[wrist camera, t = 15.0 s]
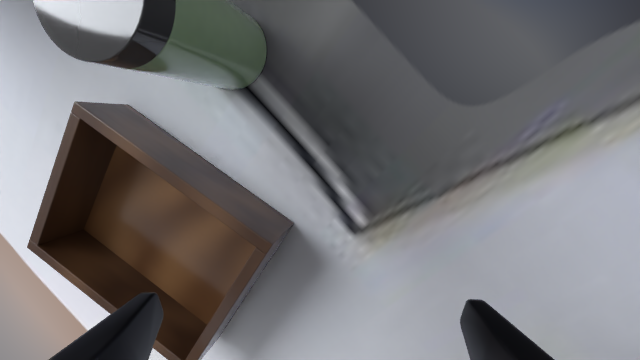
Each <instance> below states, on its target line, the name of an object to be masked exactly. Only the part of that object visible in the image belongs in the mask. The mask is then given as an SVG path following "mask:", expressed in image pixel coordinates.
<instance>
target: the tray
mask: <svg viewBox="0 0 640 360" xmlns="http://www.w3.org/2000/svg"><path fill="white" fill-rule="evenodd" d="M71 112H72V113H71V114H70V117H69V120H68V123H67V126H66V129H65V132H64V135H63V139H62V142H61V145H60V148H59V151H58V154H57V157H56V160H55V163H54V166H53V169H52V172H51V176H50V179H49V182H48V185H47V188H46V191H45V194H44V197H43V200H42V203H41V206H40V209H39V212H38V216H37V219H36V222H35V225H34V228H33V231H32V234H31V237H30V240H29V243H28V246H27V248H28V249H30V250H31V251H32V252H33V253H35V254H36V255H37V256H39V257H40V258H41V259H42V260H44V261H45V262H46V263H47V264H49V265H50V266H51V267H52V268H54V269H55V270H56V271H57V272H59V273H60V274H61V275H62V276H64V277H65V278H66V279H67V280H69V281H70V282H71V283H72V284H74V285H75V286H76V287H77V288H79V289H80V290H81V291H82V292H84V293H85V294H86V295H87V296H89V297H90V298H91V299H92V300H94V301H95V302H96V303H97V304H99V305H100V306H101V307H102V308H104V309H105V310H106V311H107V312H109V313H110V314H112V313H113V312H115V311H116V310H118V309H119V308H120V307H122V306H123V305H124V304H126V303H127V302H128V301H130V300H131V299H133V298H134V297H135V296H137V295H138V294H140V293H142V292H155V293H157V294H158V296H159V299H160V302H161V305H162V308H163V313H164V315H163V320H162V323H161V326H160V328H159V331H158V334H157V337H156V340H155V342H154V345H153V348H154V349H155V350H156V351H158V352H159V353H160V354H161V355H163V356H164V357H165V358H166V359H168V360H201V359H202V358H203V357H204V355H205V354H206V353H207V352H208V350H209V349H210V348H211V347H212V345H213V344H214V343H215V341H216V340H217V339H218V338H219V336H220V335H221V333H222V332H223V330H224V329H225V327H226V326H227V324H228V323H229V321H230V320H231V318H232V317H233V315H234V314H235V312H236V310H237V309H238V307H239V306H240V304H241V303H242V301H243V300H244V298H245V297H246V295H247V294H248V292H249V291H250V289H251V288H252V286H253V285H254V283H255V281H256V280H257V278H258V277H259V275H260V274H261V272H262V271H263V269H264V268H265V266H266V265H267V263H268V262H269V260H270V259H271V257H272V256H273V254H274V252H275V251H276V249H277V248H278V246H279V245H280V243H281V242H282V240H283V239H284V237H285V236H286V234H287V233H288V231H289V230H290V228H291V227H292V225H293V222H292V221H290V220H289V219H287V218H286V217H285V216H283V215H282V214H280V213H279V212H278V211H276V210H275V209H273V208H272V207H271V206H269V205H268V204H266V203H265V202H264V201H262V200H261V199H259V198H258V197H257V196H255V195H254V194H252V193H251V192H250V191H248V190H247V189H245V188H244V187H243V186H241V185H240V184H238V183H237V182H236V181H234V180H233V179H231V178H230V177H229V176H227V175H226V174H224V173H223V172H221V171H220V170H219V169H217V168H216V167H214V166H213V165H212V164H210V163H209V162H207V161H206V160H205V159H203V158H202V157H200V156H199V155H198V154H196V153H195V152H193V151H192V150H191V149H189V148H188V147H186V146H185V145H184V144H182V143H181V142H179V141H178V140H177V139H175V138H174V137H172V136H171V135H170V134H168V133H167V132H165V131H164V130H163V129H161V128H160V127H158V126H157V125H156V124H154V123H153V122H151V121H150V120H148V119H147V118H146V117H144V116H143V115H141V114H140V113H139V112H137V111H136V110H134V109H133V108H132V107H130V106H129V105H124V104H107V103H90V102H74V105H73V108H72V111H71Z"/></svg>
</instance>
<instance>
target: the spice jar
mask: <svg viewBox="0 0 640 360" xmlns="http://www.w3.org/2000/svg"><path fill="white" fill-rule="evenodd" d="M33 4H34V8H35V10H36V13H37V16H38V18H39V20H40V22H41V24H42V26H43V28H44V30H45V31H46V33H47V34H48V36H49V37H50V38H51V40H52V41H53V42H54V43H55V44H56V45H57V46H58V47H59V48H60V49H61V50H63V51H64V52H65V53H67V54H68V55H70V56H72V57H74V58H76V59H78V60H81V61H85V62H90V63H95V64H100V65H105V66H110V67H116V68H121V69H126V70H131V71H136V72H141V73H146V74H152V75H157V76H162V77H167V78H172V79H177V80H182V81H188V82H193V83H198V84H203V85H208V86H213V87H218V88H224V89H229V90H237V89H242V88H245V87H247V86H248V85H250V84H251V83H253V82H254V81H255V80H256V79H257V77H258V76H259V75H260V73H261V72H262V69H263V67H264V64H265V60H266V53H267V48H266V40H265V37H264V34H263V31H262V29H261V28H260V26H259V25H258V23H257V22H256V21H255V20H254V19H253V18H252V17H251V16H249V15H248V14H247V13H245V12H244V11H243V10H241V9H240V8H239V7H237V6H236V5H235V4H233V3H232V2H231V1H229V0H33Z"/></svg>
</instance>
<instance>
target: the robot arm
mask: <svg viewBox="0 0 640 360" xmlns="http://www.w3.org/2000/svg"><path fill="white" fill-rule="evenodd" d="M163 315H164V313H163V308H162V305H161V302H160V299H159V296H158V294H157V293H155V292H142V293H140V294H138V295H137V296H135V297H134V298H133V299H131V300H130V301H128V302H127V303H126V304H124V305H123V306H122V307H120V308H119V309H118V310H116V311H115V312H113V313H112V314H111V315H109V316H108V317H107V318H105V319H104V320H102V321H101V322H100V323H98V324H97V325H96V326H94V327H93V328H91V329H90V330H89V331H87V332H86V333H85V334H83V335H82V336H80V337H79V338H78V339H76V340H75V341H74V342H72V343H71V344H70V345H68V346H67V347H65V348H64V349H63V350H61V351H60V352H59V353H57V354H56V355H54V356H53V357H52V358H50V359H49V360H148V359H149V356H150V353H151V351H152V348H153V345H154V342H155V340H156V337H157V334H158V331H159V328H160V326H161V323H162V320H163ZM460 324H461V329H462V332H463V336H464V339H465V343H466V346H467V349H468V353H469V356H470V360H554V359H553V358H552V357H551V356H549V355H548V354H547V353H546V352H545V351H543V350H542V349H541V348H540V347H539V346H537V345H536V344H535V343H534V342H533V341H531V340H530V339H529V338H528V337H527V336H525V335H524V334H523V333H522V332H521V331H520V330H518V329H517V328H516V327H515V326H514V325H512V324H511V323H510V322H509V321H508V320H506V319H505V318H504V317H503V316H502V315H500V314H499V313H498V312H497V311H496V310H494V309H493V308H492V307H491V306H490V305H488V304H487V303H486V302H485V301H483V300H475V299H470V300H467V301H466V304H465V306H464V309H463V312H462V315H461V319H460Z"/></svg>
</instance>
